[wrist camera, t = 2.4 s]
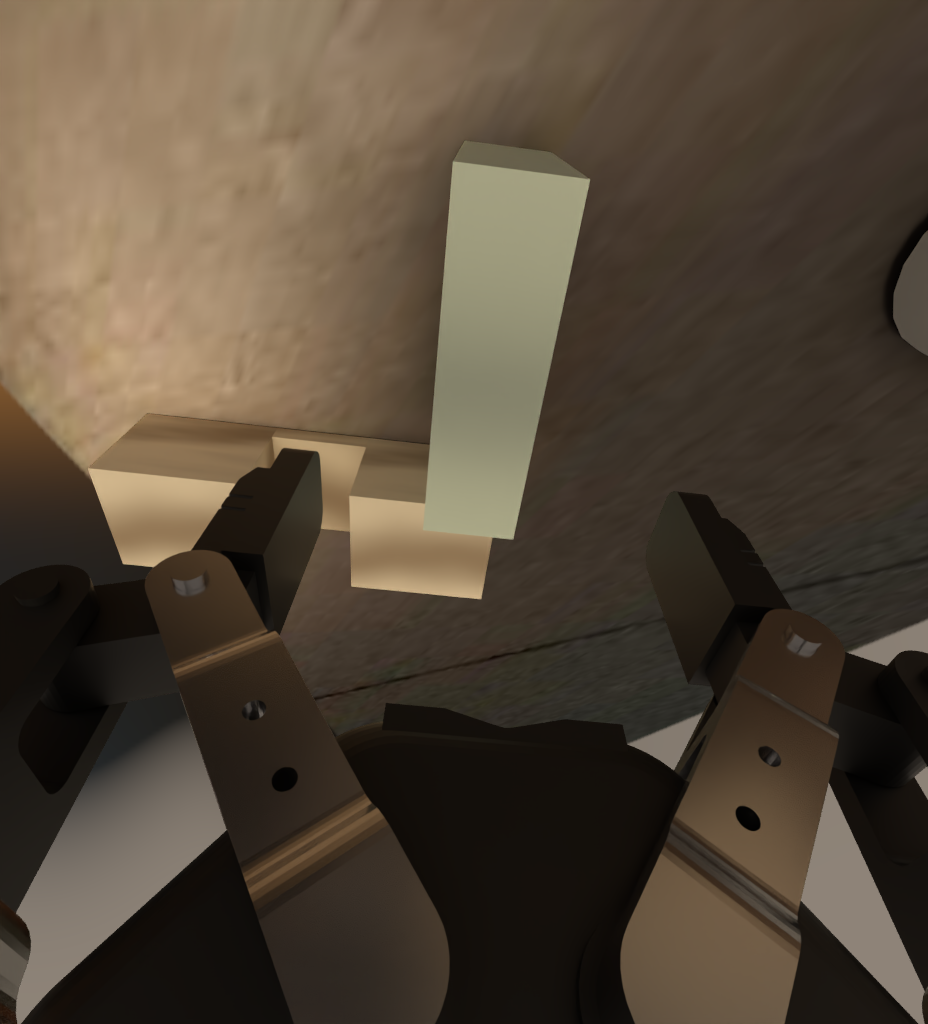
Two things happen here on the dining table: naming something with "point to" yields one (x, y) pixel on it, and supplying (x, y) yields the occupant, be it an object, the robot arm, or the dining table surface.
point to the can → (913, 298)
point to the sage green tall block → (497, 329)
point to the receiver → (241, 448)
